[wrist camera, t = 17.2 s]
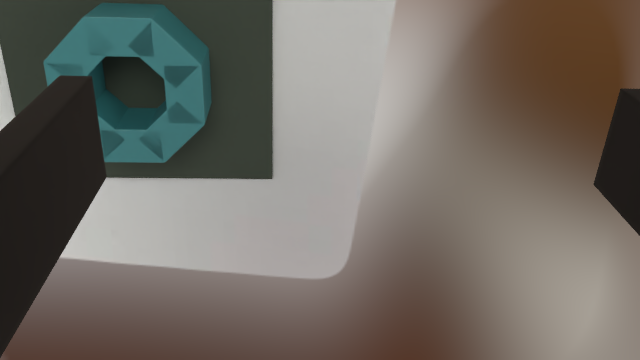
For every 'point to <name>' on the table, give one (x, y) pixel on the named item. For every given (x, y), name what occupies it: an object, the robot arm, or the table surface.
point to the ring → (156, 51)
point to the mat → (148, 86)
